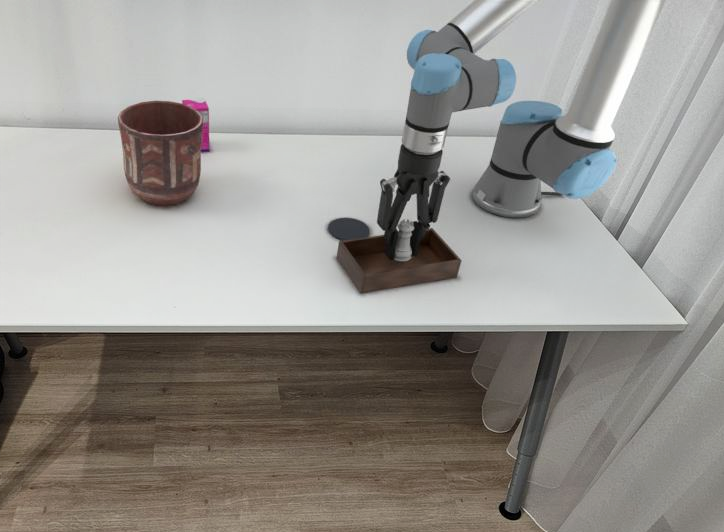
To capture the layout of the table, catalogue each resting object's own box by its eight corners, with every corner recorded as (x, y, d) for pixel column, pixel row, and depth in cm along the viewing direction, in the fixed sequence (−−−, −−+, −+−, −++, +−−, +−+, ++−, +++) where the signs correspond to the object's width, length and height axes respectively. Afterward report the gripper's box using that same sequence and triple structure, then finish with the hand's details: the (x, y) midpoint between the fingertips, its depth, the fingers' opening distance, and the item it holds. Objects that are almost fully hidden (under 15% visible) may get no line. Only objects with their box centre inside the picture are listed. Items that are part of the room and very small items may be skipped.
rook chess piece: (405, 265, 144) (413, 231, 138) (385, 258, 145) (391, 224, 140) (414, 255, 147) (422, 221, 141) (394, 248, 148) (400, 214, 143)
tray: (428, 244, 155) (432, 227, 152) (456, 278, 146) (461, 260, 143) (336, 258, 149) (338, 241, 146) (360, 293, 141) (363, 275, 138)
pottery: (186, 168, 174) (184, 95, 162) (214, 204, 163) (215, 128, 151) (114, 181, 168) (107, 106, 156) (138, 219, 156) (133, 141, 144)
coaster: (363, 218, 161) (363, 216, 161) (373, 241, 155) (374, 239, 154) (324, 219, 160) (324, 218, 160) (332, 242, 153) (332, 240, 153)
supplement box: (182, 142, 184) (181, 98, 176) (205, 141, 185) (205, 97, 178) (186, 153, 180) (185, 108, 172) (210, 151, 181) (210, 107, 174)
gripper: (386, 161, 125) (368, 271, 141) (476, 150, 129) (448, 258, 145) (368, 142, 130) (352, 250, 146) (455, 131, 135) (430, 237, 150)
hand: (400, 254), depth 146 cm, fingers closed on rook chess piece, 4 cm apart
